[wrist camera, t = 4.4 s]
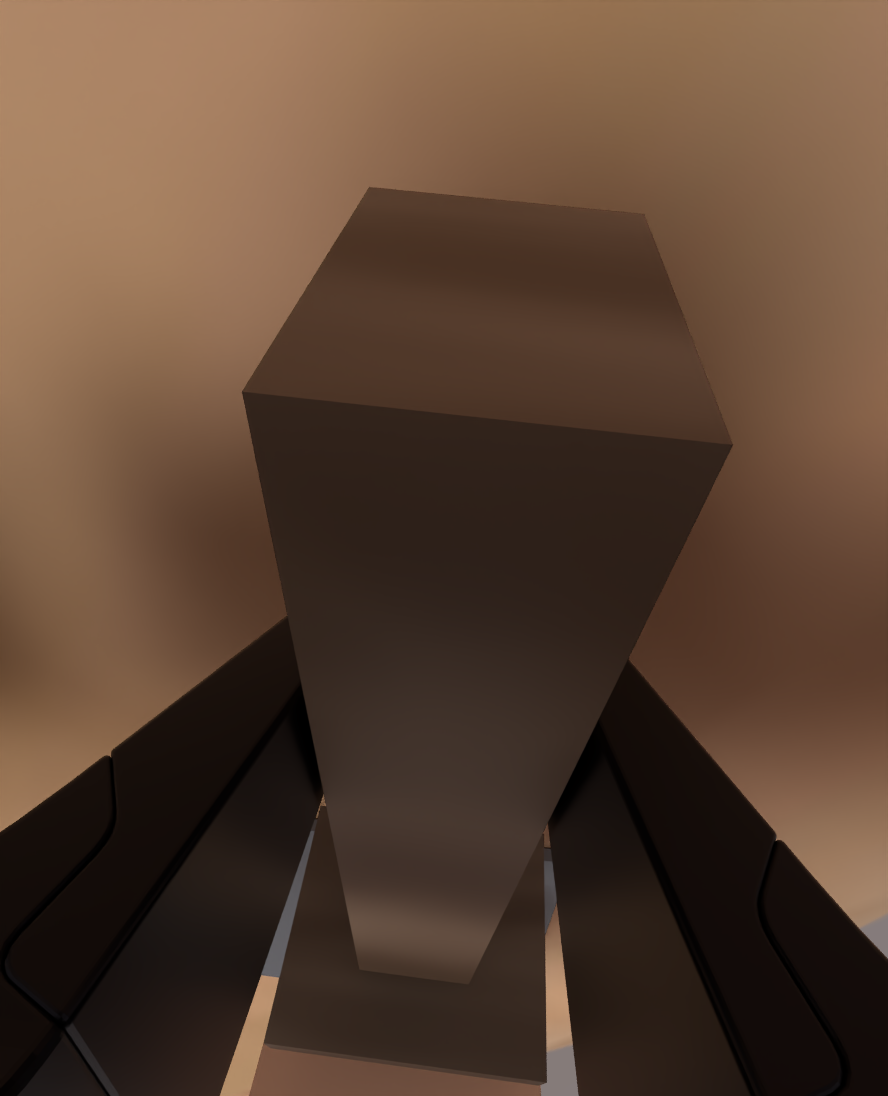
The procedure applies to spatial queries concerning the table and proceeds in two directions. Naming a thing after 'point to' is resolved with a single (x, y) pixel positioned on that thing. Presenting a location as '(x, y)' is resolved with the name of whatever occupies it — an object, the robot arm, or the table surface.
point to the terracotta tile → (366, 1079)
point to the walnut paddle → (463, 591)
